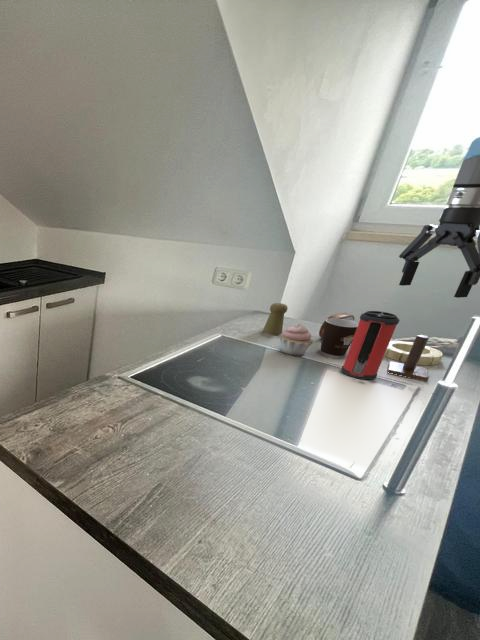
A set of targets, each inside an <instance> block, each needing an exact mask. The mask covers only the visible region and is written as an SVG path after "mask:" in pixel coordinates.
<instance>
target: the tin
mask: <svg viewBox="0 0 480 640" xmlns="http://www.w3.org/2000/svg"><path fill="white" fill-rule="evenodd" d="M326 319H344V320H350V321H354V322H355V316H354V314H351V313H347V312H341V313H336V314H331V315H330V316H328V317H327V318H326ZM324 326H325V320H324V321H323V322H322V324H321V326H320V328H319V331H318V336H319V338H322V337H323V332H324Z"/></svg>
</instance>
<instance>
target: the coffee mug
mask: <svg viewBox="0 0 480 640" xmlns="http://www.w3.org/2000/svg"><path fill="white" fill-rule="evenodd" d="M324 321H325V326H324V332H323V337H321V344H320V349H319V351H320V352H322V353H323V354H326V355H330V356H335V357H342V356H346V355H347V353H348V351H349V349H350V346H351V343H352V340H353V338H354V335H355V332H356V329H357V327H358V324H359V322H356V321H355V320H354V321H350V320H344V319H327V318H326V319H325V320H324Z"/></svg>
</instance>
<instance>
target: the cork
mask: <svg viewBox="0 0 480 640" xmlns="http://www.w3.org/2000/svg"><path fill="white" fill-rule="evenodd" d="M288 309H289V308H288V305H287V304H286V303H282V302H274V303H272V304H271V305H270V306H269V311H270V313H269V315H268V318H267V321H266V323H265V325H264V327H263V329H262V333H263V334H265V335H270V336H280V335H282V332H283V328H284V319H285V314H286V313H287V312H288Z"/></svg>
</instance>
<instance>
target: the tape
mask: <svg viewBox="0 0 480 640" xmlns="http://www.w3.org/2000/svg"><path fill="white" fill-rule="evenodd" d="M413 343H414V342H411V341H403V340H390V342H389V345H388V347H387V350H386V352H385V355H384V357H386V358H388V359H391V360H393V361H396V362H399V361H400V363H405V361H406V359H407V357H408V355H409V352H410V350H411V348H412V345H413ZM443 356H444V355H443V352H442V351H441V350H439V349H436V348H434V347H432V346H429V345H426V346H425V348H424V350H423V352H422V355H421V357H420V359H419V361H418V363H417V366H418V365H419V366H434V365H439V364H440V363H441V360H442V358H443Z"/></svg>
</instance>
